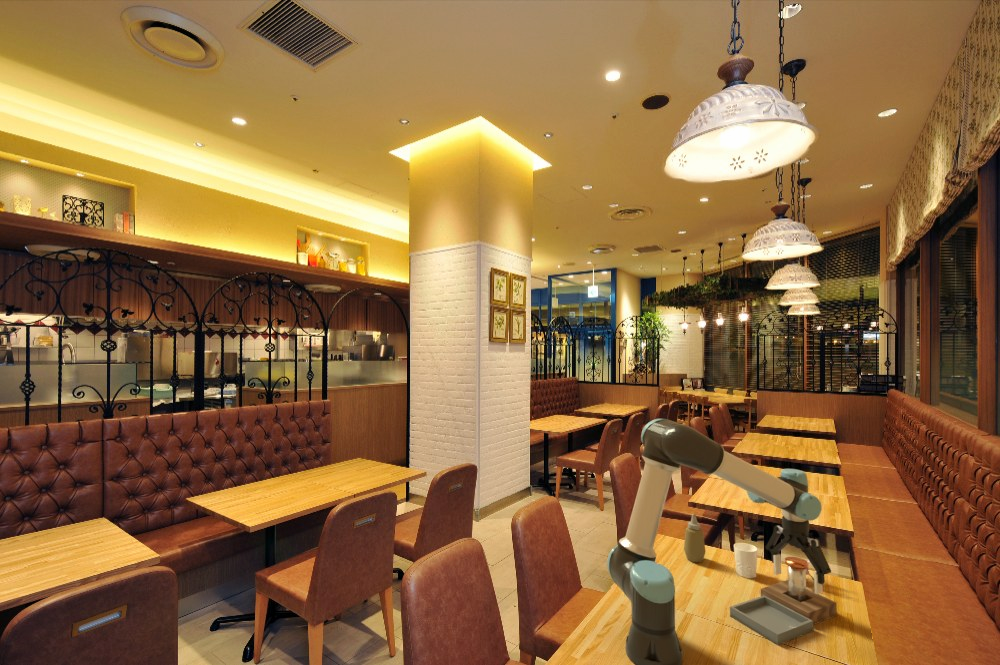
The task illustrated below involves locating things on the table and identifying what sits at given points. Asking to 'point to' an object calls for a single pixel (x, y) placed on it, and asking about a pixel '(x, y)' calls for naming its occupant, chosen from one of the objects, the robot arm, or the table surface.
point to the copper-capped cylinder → (797, 578)
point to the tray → (771, 619)
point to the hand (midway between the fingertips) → (797, 583)
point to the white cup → (745, 559)
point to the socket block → (812, 608)
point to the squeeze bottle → (694, 541)
